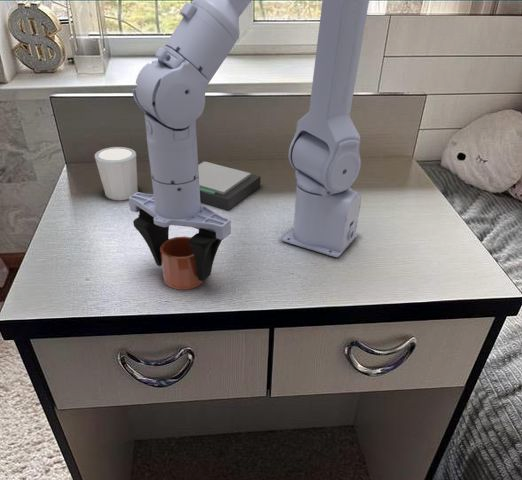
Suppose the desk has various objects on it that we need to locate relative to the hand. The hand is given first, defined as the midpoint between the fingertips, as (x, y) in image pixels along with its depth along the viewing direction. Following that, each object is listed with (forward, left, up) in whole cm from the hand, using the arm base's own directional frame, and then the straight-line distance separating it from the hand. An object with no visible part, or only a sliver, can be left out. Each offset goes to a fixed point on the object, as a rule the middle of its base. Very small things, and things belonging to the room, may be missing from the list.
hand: (183, 269), depth 72 cm
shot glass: (+25, -16, -2) cm, 30 cm away
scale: (+12, -26, -1) cm, 29 cm away
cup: (0, 0, -1) cm, 1 cm away
